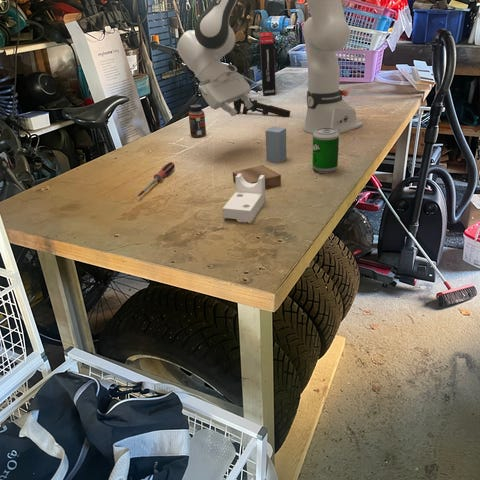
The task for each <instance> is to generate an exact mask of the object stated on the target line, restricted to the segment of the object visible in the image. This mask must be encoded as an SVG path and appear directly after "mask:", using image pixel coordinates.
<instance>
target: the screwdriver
mask: <svg viewBox="0 0 480 480" xmlns="http://www.w3.org/2000/svg"><path fill="white" fill-rule="evenodd" d="M174 169H175V163H174V162H172V161H170V162H168V163H166V164H165V165H163V166H162V167H161V169H160V170H159V171H158V172H157V173H156V174H154V175H153V180H152V181H151V182H150V183H149V184H148V185H147V186H145V188H143V189H142V191H141V192H139V193H138V195H137V197H141V196H142V195H143V194H144V193H146V192H147V190H149V189H150V188H151V187H152V186H153V185H154V184H155V183H161V182H162V180H163V179H165V177H167V176H168V175H170V174H171V173H172V172H173V170H174ZM156 181H157V182H156Z"/></svg>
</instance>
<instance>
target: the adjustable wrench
mask: <svg viewBox="0 0 480 480" xmlns="http://www.w3.org/2000/svg"><path fill="white" fill-rule="evenodd" d="M249 99H250V102H251V103H252V104H253V106H252V107H251V108H249V109H247V108H246V107H245V106H244V105H245V103H244V100H243V101H242V100H241V99H238V100H236V101H234V102H233V108H235V109H236V110H237V112H238V113H237V114H236V115H239V114H240V113H242V114H245V115H246V114H247V113H248V111H251V112H252V113H254V112H258V113H261V114H262V115H266V116H267V115H269V114H272V115H276V116H279V117H283V118H289V117H290V115H291V110H290V109H285V108H282V107H278V106H275V105H272V104H269V105H268V104H266V103H262V102H258V100H257V99H253V100H252V98H250V97H249ZM242 106H243V108H242ZM241 110H242V112H241ZM242 114H241V115H242Z"/></svg>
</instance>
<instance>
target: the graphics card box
mask: <svg viewBox="0 0 480 480" xmlns="http://www.w3.org/2000/svg"><path fill="white" fill-rule="evenodd" d="M258 35H259V53H260V55H259V56H260V72H261V86H262V95H263V96H264V97H265V96H276V94H277V93H276V91H277V90H276V89H277V87H276V86H277V85H276V57H275V42H274V41H275V39H274V35H273V32H271V31H266V32H265V31H263V32H259V34H258Z"/></svg>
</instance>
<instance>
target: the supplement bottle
mask: <svg viewBox="0 0 480 480" xmlns="http://www.w3.org/2000/svg"><path fill="white" fill-rule="evenodd" d="M188 123H189V130H190V133H189V134H190V136H191V137H192V138H204V137H205V136H206V135H207V130H206V129H207V128H206V116H205V111H204V110H203V109H202V105H201V104H192V105H190V111H189V112H188Z"/></svg>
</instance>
